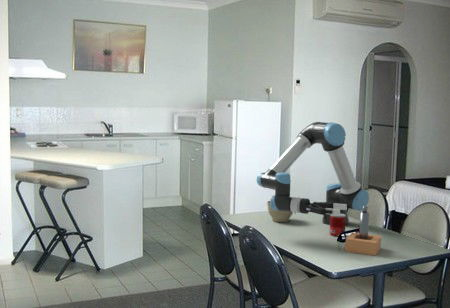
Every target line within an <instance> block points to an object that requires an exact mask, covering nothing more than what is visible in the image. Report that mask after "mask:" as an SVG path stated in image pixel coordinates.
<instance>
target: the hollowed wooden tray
mask: <svg viewBox="0 0 450 308" xmlns="http://www.w3.org/2000/svg"><path fill="white" fill-rule="evenodd" d="M359 234H360V232H351V233H350V234H349V235H348V236H347V237H346V238H345V244H344V245H345V248H344V251H345V252H348V253H354V254H355V253H357V254H363V255H368V256H377V254H378V253H379V251H380V250H381V248H382V235H377V234H376V235H374V234H368V240H363V239H359Z"/></svg>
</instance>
